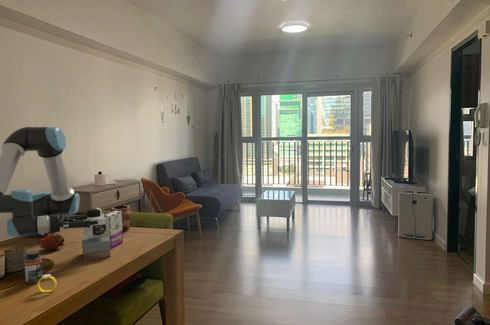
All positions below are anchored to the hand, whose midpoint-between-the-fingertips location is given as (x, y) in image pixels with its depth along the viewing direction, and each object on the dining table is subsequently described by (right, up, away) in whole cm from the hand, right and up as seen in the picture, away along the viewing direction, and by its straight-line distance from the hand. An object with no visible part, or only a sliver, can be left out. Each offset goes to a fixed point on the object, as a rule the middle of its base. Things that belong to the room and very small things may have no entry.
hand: (104, 218), depth 167 cm
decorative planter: (-7, -14, +41) cm, 44 cm away
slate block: (-4, -13, -1) cm, 14 cm away
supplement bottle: (-15, -19, -30) cm, 38 cm away
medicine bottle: (-4, -7, -1) cm, 8 cm away
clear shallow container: (-4, -17, 0) cm, 18 cm away
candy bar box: (-1, -16, +14) cm, 21 cm away
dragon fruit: (-29, -16, +8) cm, 34 cm away
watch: (-5, -20, -39) cm, 44 cm away
